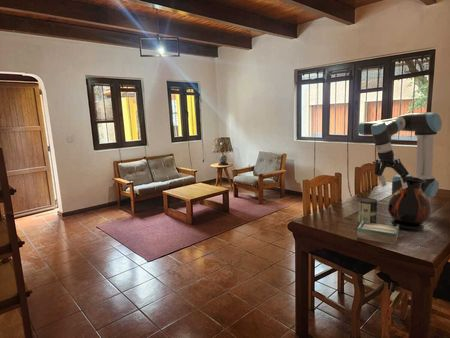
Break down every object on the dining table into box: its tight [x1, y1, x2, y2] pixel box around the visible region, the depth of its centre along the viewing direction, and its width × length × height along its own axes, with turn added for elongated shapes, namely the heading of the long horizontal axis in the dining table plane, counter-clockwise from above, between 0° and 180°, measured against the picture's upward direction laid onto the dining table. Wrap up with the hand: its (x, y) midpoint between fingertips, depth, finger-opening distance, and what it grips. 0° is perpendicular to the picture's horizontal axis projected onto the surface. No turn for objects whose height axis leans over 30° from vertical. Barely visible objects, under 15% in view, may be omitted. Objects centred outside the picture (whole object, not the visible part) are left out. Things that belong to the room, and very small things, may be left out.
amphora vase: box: [387, 177, 433, 231], centre depth 170 cm, size 22×22×28 cm
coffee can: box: [357, 197, 378, 224], centre depth 182 cm, size 10×10×14 cm
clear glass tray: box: [356, 219, 400, 245], centre depth 161 cm, size 16×18×6 cm
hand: (394, 187), depth 166 cm, fingers open, 13 cm apart
